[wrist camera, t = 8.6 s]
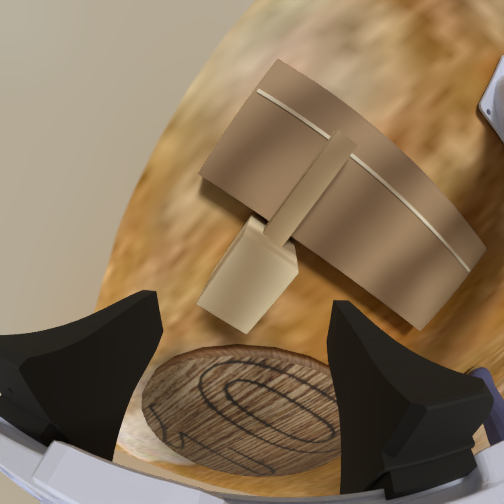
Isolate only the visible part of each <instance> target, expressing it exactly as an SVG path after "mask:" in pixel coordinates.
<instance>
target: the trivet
mask: <svg viewBox="0 0 504 504" xmlns="http://www.w3.org/2000/svg"><path fill="white" fill-rule="evenodd" d="M142 411H143V414H144V417H145V419H146V422H147V424H148V426H149V427H150V428H151V429H152V431H153V432H154V433H155V435H156V436H157V437H158V438H159V439H160V440H161V441H162V442H163V443H165V444H166V445H167V446H168V447H170V448H171V449H172V450H173V451H175V452H176V453H178V454H180V455H182V456H183V457H185V458H187V459H189V460H191V461H192V462H195V463H197V464H200V465H203V466H205V467H208V468H211V469H213V470H217V471H222V472H226V473H230V474H235V475H244V476H255V477H270V476H284V475H290V474H296V473H301V472H305V471H308V470H311V469H314V468H317V467H320V466H322V465H325V464H326V463H328V462H330V461H332V460H334V459H335V458H337V457H339V456H341V436H340V420H339V411H338V405H337V400H336V395H335V391H334V386H333V381H332V377H331V372H330V368H329V365H326V364H324V363H322V362H320V361H318V360H316V359H314V358H313V357H311V356H307V355H303V354H299V353H295V352H291V351H287V350H284V349H280V348H276V347H265V346H252V345H241V344H234V345H224V346H213V347H202V348H199V349H196V350H193V351H190V352H186V353H183V354H180V355H177V356H174V357H173V358H171V359H170V360H169V361H167V362H166V363H164V364H163V365H161V366H160V367H159V368H157V369H156V370H155V372H154V374H153V375H152V377H151V379H150V380H149V382H148V384H147V386H146V388H145V389H144V391H143V393H142Z"/></svg>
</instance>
